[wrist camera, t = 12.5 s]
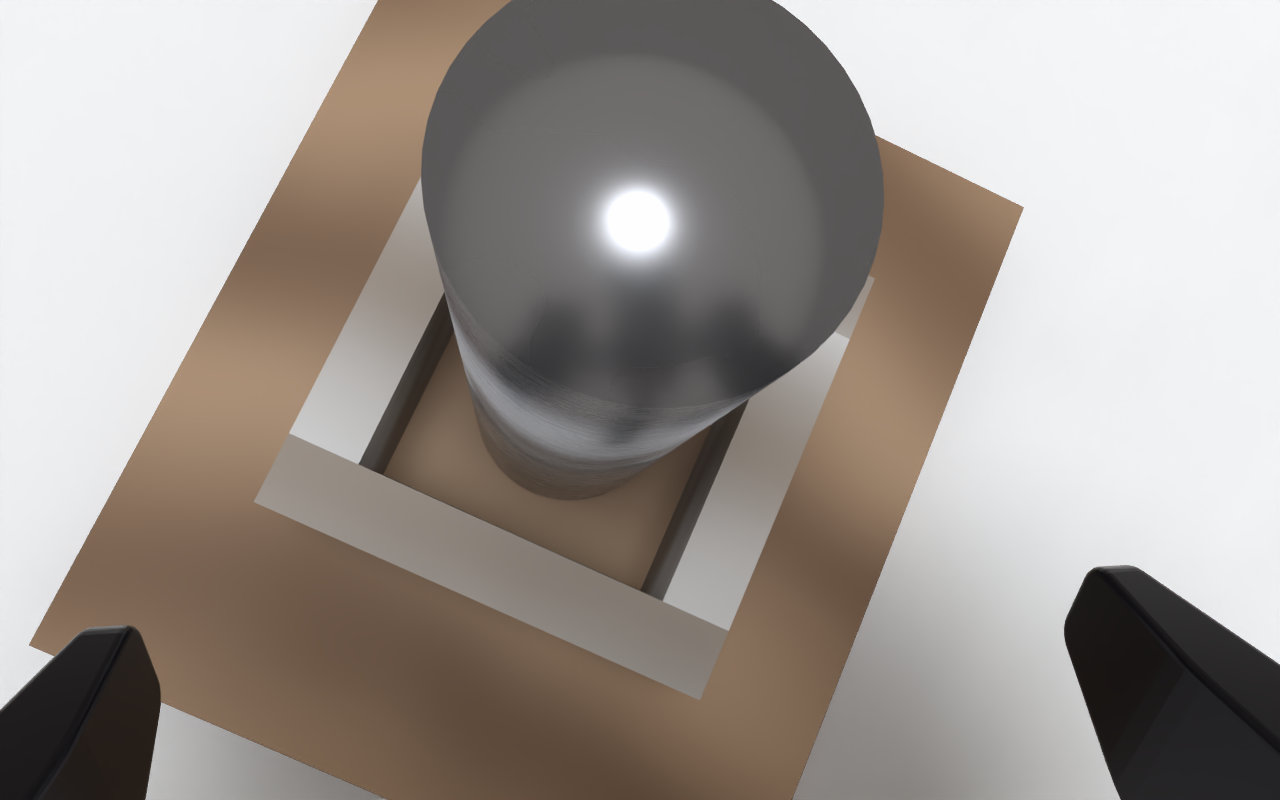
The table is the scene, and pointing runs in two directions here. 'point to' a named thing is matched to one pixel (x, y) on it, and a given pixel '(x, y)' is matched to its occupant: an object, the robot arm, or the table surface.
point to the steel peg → (641, 222)
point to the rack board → (508, 500)
